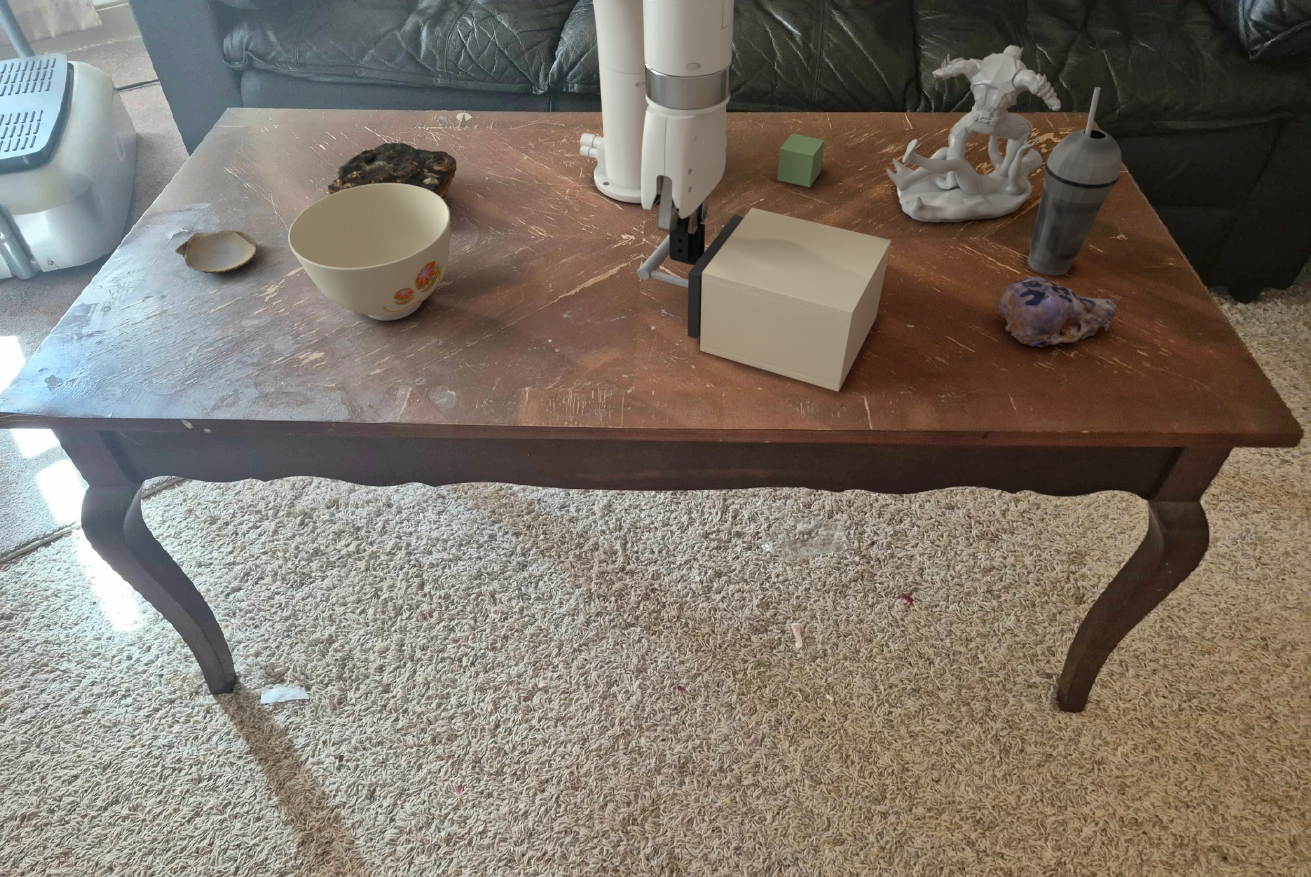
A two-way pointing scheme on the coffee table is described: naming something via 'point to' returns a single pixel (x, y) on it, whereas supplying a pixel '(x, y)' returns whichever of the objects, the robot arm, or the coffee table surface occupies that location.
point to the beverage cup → (1073, 195)
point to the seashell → (218, 251)
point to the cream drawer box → (792, 297)
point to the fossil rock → (398, 169)
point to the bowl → (375, 247)
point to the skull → (1051, 312)
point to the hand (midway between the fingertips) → (686, 258)
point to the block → (800, 160)
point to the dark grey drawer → (693, 276)
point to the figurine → (1008, 182)
